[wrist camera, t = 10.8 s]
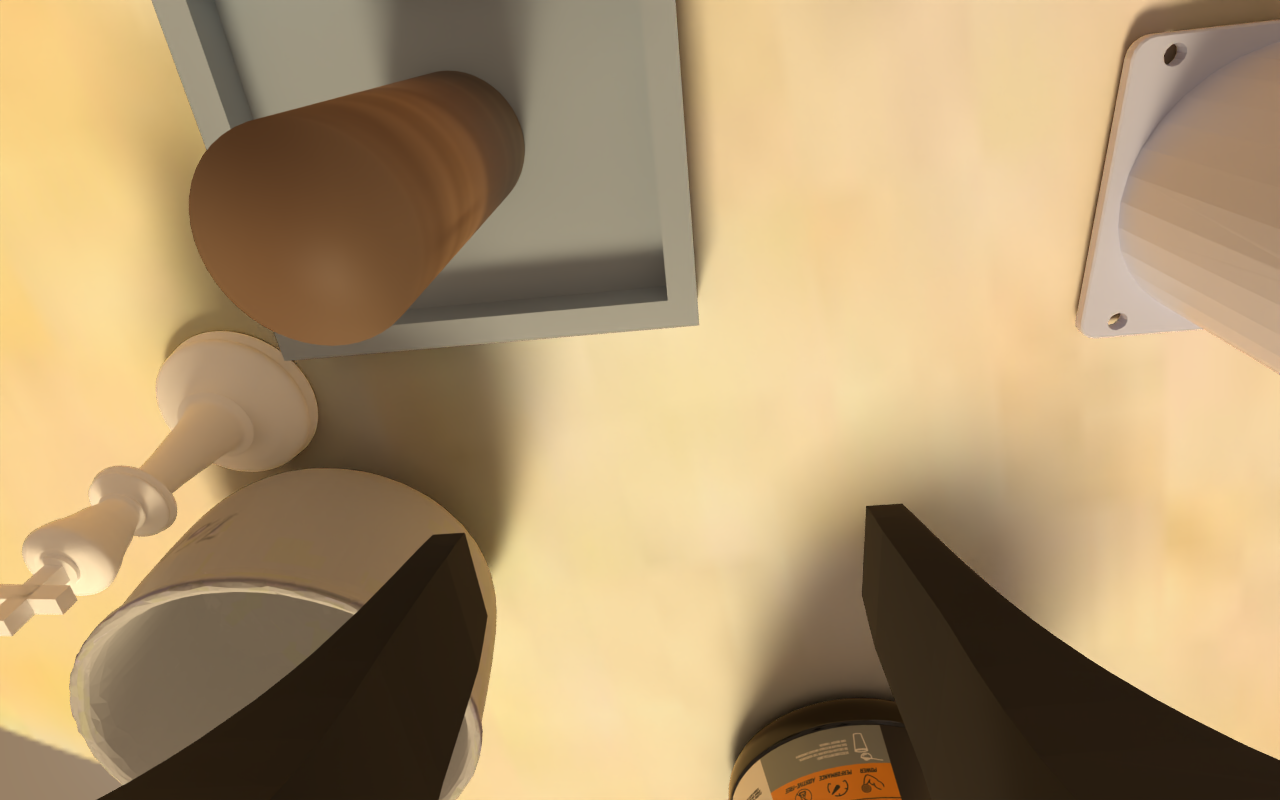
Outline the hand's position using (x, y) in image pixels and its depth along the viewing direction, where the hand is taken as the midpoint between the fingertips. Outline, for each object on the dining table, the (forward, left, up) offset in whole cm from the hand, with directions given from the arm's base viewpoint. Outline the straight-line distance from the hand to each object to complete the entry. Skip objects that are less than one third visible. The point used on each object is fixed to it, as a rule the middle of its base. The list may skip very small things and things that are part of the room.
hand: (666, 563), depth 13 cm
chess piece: (+14, +1, -11) cm, 18 cm away
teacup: (+12, +9, -11) cm, 18 cm away
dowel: (+5, -6, -10) cm, 13 cm away
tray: (+5, -6, -10) cm, 13 cm away
